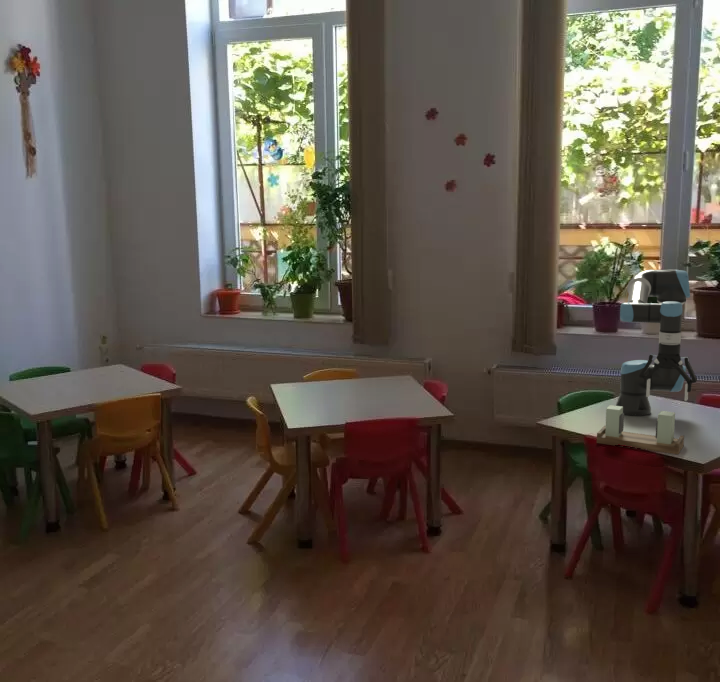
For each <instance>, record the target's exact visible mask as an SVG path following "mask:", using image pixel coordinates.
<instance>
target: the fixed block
mask: <svg viewBox="0 0 720 682" xmlns="http://www.w3.org/2000/svg"><path fill="white" fill-rule="evenodd" d="M624 423H625V414H624V413H623V407H622V406H616V405H613V404H610V405H608V406H607V408H606V409H605V426H606V430H605V436H612V437H619V436H620V435H621V434H622V431H623V432H624V426H625V424H624Z"/></svg>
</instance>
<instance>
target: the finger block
mask: <svg viewBox="0 0 720 682" xmlns="http://www.w3.org/2000/svg"><path fill="white" fill-rule="evenodd" d="M675 421H676V412H673V411H664V410H660V412H659V413H658V414H657V419H656V423H655V436H656V438H657V443H664V444H671V443H672V442H673V441H674V438H675Z"/></svg>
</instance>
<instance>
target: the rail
mask: <svg viewBox="0 0 720 682" xmlns="http://www.w3.org/2000/svg"><path fill="white" fill-rule="evenodd" d="M605 430H606V425H604V426H603V427H602V428H600V429H599V431H597V432H596V444H601V445H608V446H609V445H611V446H615V445H618V444H620V445H626V446H632V447H636V448H635V449H637V448H641V449H640V450H644V449H647V450H646V451H653V452H658V453H664V454H665V453H666V454H673V455H679V454H680V453H681V451H682V449H683V447H684V444H685V435H683V434H681V435H680V436H679V437H678V438H676V437H674V441H673V442H672V443H671V444H664V443H657V438H656V435H652V434H645V433H638V432H630V431H629V432H628V431H624V430H623V431H622V434H621V435H620V436H619V437H612V436H605Z"/></svg>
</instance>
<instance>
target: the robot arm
mask: <svg viewBox="0 0 720 682" xmlns="http://www.w3.org/2000/svg"><path fill="white" fill-rule="evenodd" d="M689 278H690V277H689V273H688V271H686V270H681V269H680V270H679V269H647V270H643V271H640V272H639V273H637V274H635V275H634V276H632V277H631V278H630V279H629V281H628V282H627V286H626V291H627V293H628V297H627V302H622V303H620V309H619V318H620V319H619V320H620V321H621V322H624V323H625V322H628V323H651V324H659V333H658V337H659V338H658V349H657V350H658V353H657V355H656V354H653V353H650V354H649V356H648V359H647V360H646V359H634V360H628V361H625V362H623V363H622V364H621V369H620V383H619V384H620V386H619V387H620V389H619V396H618V398H617V401H616V404H615V406H622V407H623V413H624V416H626V415H627V416H634V417H636V416H637V417H638V416H640V417H641V416H647V415H651V413H652V412H651V411H652V407H651V404H650V401H649V397H650V394H651V391H654V392H655V391H656V392H657V391H658V392H669V393H673V392H674V393H675V392H676V393H677V392H680V391H682V390H683V386H684V400H683V401H685V402H687V401H688V399H689V393H691V392H692V386H693V384H694V383H695V384H696V383H697V382H698V378H697V375H696V374H695V371H694V370H693V367H692V365H691V363H690V357H689V356H684V357H682V356H681V343H682V342H681V338H682V322H683V320H682V319H683V305H684V304H685V303H687V299H688V298H690V297H691V290H690V289H691V288H690V280H689ZM650 297H652V298H655V297H656V298H657V299H656V302H657V303H656V302H655V303H652V302H651V303H649V302H648V298H650ZM652 362H653V363H652ZM683 364H684V365H683ZM686 370H687V371H686ZM687 372H688V373H687ZM688 374H689V375H688ZM684 382H685V383H684ZM684 384H685V385H684Z"/></svg>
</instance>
